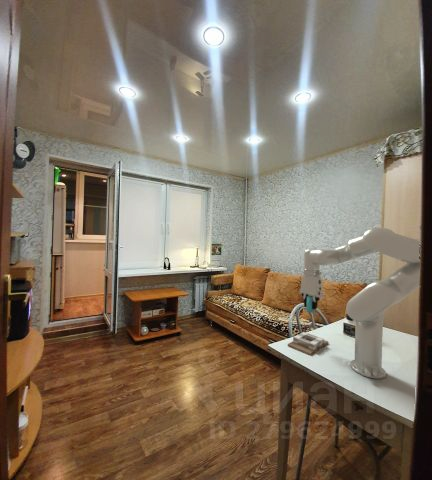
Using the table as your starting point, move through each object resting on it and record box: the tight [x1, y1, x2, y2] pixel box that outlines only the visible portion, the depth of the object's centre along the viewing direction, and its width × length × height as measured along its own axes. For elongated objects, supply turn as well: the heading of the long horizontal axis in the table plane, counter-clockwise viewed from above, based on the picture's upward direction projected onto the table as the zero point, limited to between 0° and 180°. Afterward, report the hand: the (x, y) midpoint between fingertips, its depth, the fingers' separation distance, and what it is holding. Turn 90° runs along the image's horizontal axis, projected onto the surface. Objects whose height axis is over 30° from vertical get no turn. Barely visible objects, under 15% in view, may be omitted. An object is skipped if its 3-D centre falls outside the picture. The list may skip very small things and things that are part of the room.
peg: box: [305, 295, 316, 314], centre depth 117 cm, size 4×4×8 cm
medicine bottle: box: [342, 313, 356, 338], centre depth 131 cm, size 7×7×12 cm
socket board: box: [287, 331, 329, 356], centre depth 117 cm, size 20×12×4 cm, turn 131°
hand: (310, 307), depth 117 cm, fingers closed on peg, 4 cm apart
